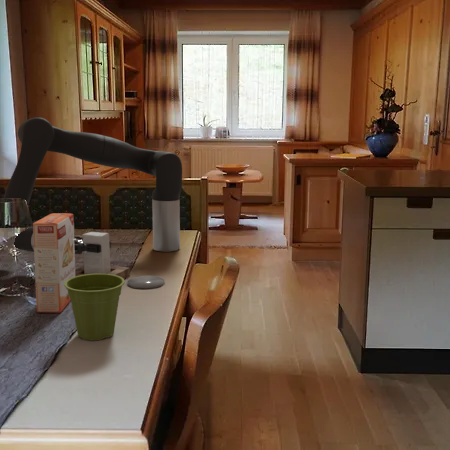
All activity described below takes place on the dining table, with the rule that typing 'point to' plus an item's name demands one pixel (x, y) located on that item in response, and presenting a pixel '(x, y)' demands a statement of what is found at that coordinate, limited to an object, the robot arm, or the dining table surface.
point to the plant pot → (95, 303)
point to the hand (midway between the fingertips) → (105, 246)
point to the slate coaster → (145, 282)
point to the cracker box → (53, 260)
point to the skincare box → (97, 254)
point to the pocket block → (115, 270)
